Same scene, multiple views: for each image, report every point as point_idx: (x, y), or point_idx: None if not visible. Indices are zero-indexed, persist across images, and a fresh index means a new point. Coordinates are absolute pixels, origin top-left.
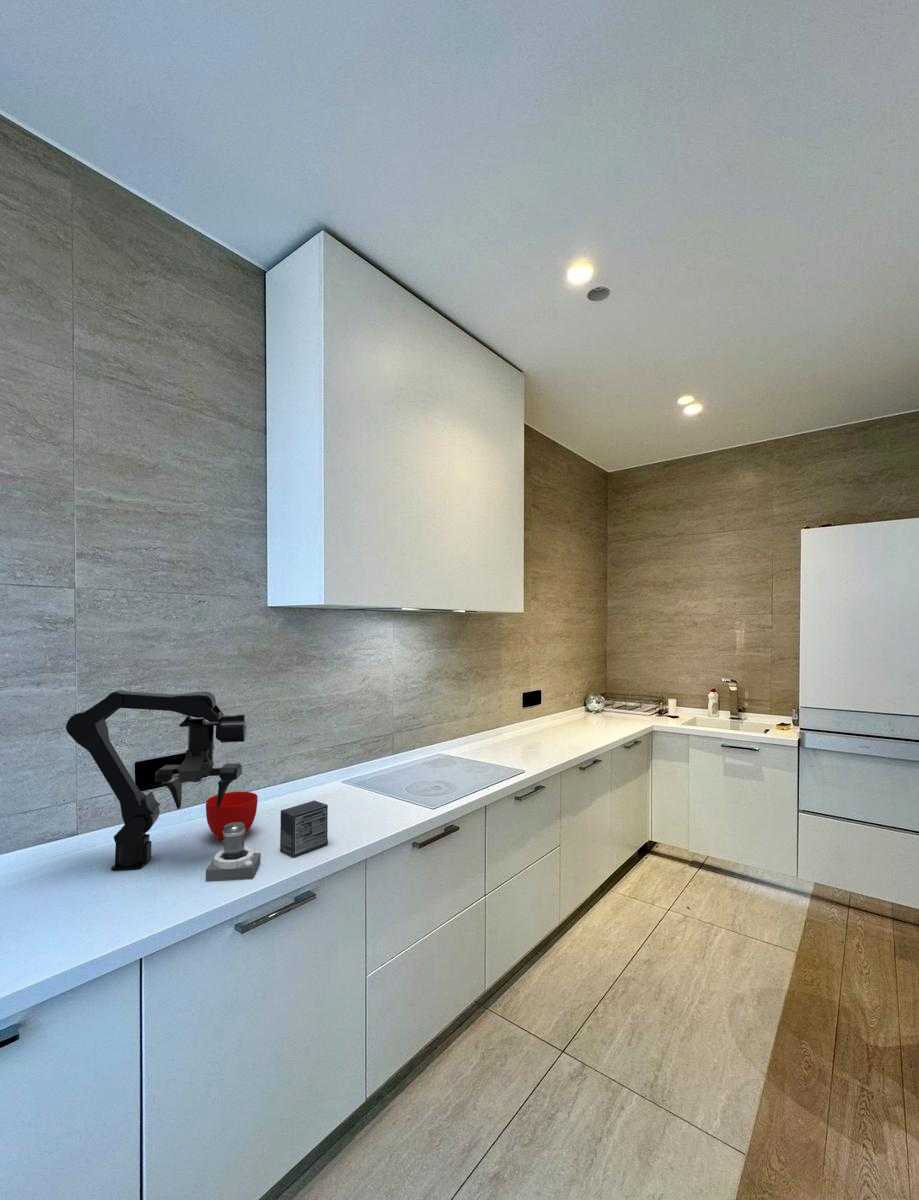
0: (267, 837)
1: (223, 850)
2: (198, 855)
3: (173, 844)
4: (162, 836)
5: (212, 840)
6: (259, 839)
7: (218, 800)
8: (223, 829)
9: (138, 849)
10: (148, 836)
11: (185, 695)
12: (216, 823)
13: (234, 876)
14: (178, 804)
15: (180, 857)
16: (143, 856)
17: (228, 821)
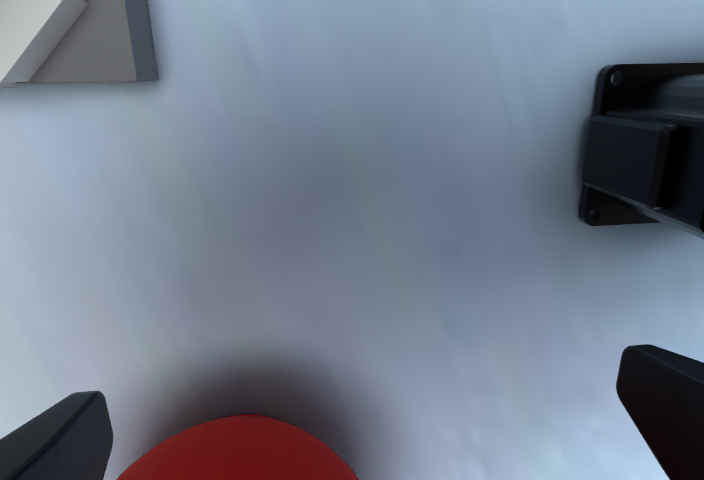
0: None
1: (38, 26)
2: (333, 238)
3: (513, 377)
4: (590, 462)
5: (328, 422)
6: None
7: (5, 464)
8: (237, 431)
9: (699, 105)
10: (697, 205)
11: None
12: (284, 458)
13: None
14: (680, 372)
15: (426, 217)
16: (630, 116)
17: (187, 469)
